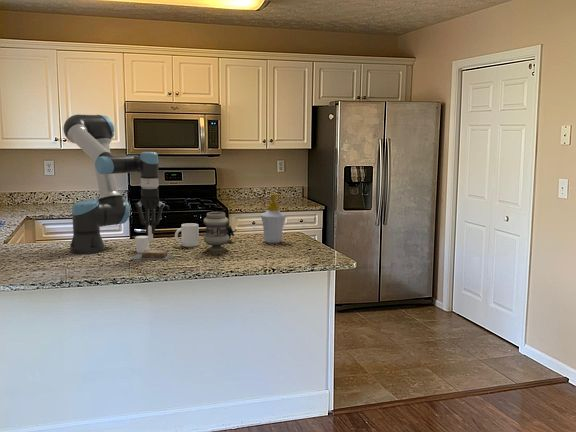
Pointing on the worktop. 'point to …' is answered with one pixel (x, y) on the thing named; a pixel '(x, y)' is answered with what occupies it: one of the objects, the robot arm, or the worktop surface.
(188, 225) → the mug
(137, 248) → the white cup
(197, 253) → the worktop surface
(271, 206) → the soap bottle
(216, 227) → the apothecary jar
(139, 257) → the rubber mat
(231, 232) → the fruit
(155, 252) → the walnut slab
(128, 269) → the worktop surface
